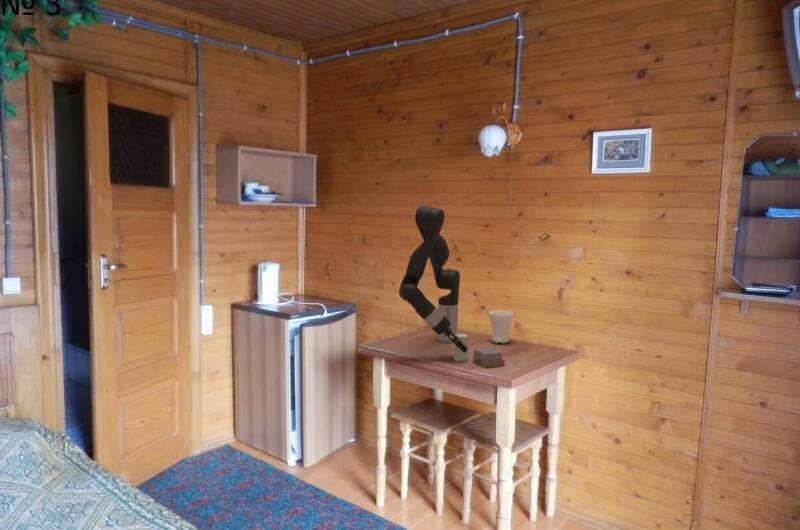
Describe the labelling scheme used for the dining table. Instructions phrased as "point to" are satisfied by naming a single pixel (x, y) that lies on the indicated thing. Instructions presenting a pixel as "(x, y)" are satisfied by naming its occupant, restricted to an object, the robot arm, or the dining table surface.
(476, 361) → the walnut slab
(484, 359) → the charcoal slab
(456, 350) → the sage pillar
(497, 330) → the cup
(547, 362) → the dining table surface
